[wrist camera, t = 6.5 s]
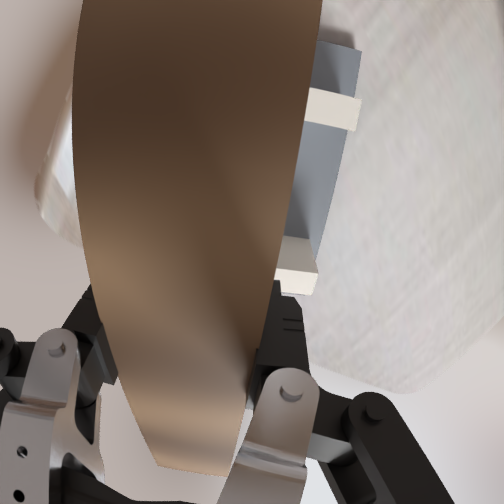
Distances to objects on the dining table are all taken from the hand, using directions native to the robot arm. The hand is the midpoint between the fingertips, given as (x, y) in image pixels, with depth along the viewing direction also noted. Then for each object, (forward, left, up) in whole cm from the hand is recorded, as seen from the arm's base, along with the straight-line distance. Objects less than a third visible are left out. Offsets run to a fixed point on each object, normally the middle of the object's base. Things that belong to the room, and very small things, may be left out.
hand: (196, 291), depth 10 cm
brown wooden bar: (0, 0, -1) cm, 1 cm away
